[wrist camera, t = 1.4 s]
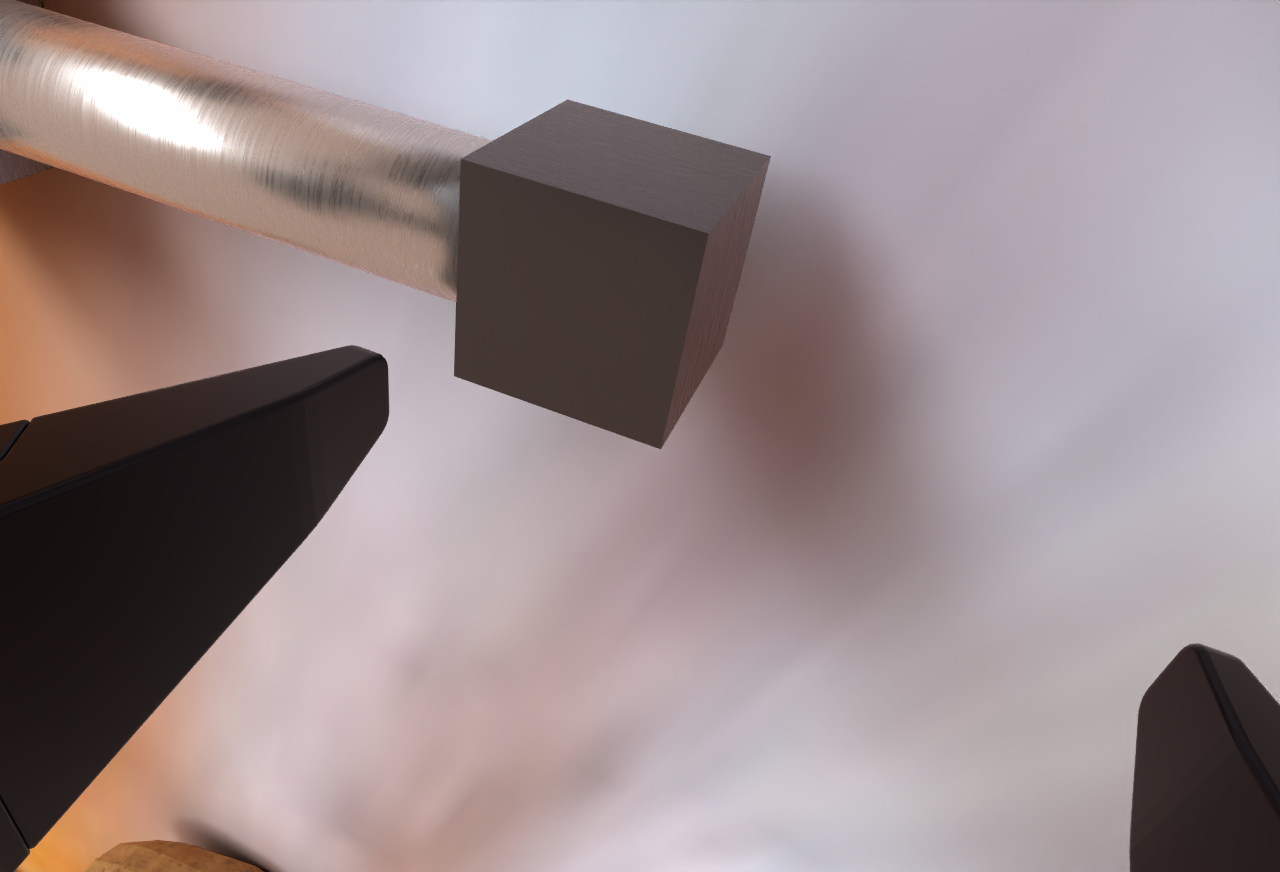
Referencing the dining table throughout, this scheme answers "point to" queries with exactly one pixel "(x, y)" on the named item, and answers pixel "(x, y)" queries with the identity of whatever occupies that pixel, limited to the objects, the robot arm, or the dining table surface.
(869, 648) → the dining table surface
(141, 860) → the potato
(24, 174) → the pillow block
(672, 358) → the shaft
